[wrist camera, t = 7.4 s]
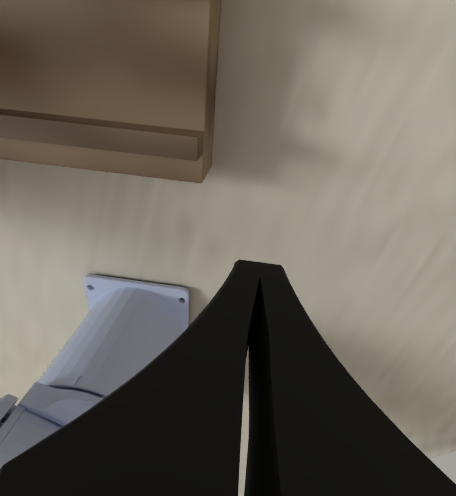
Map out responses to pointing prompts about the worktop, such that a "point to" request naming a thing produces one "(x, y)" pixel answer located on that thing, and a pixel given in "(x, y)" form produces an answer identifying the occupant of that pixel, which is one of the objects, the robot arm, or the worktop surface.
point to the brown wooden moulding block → (110, 85)
